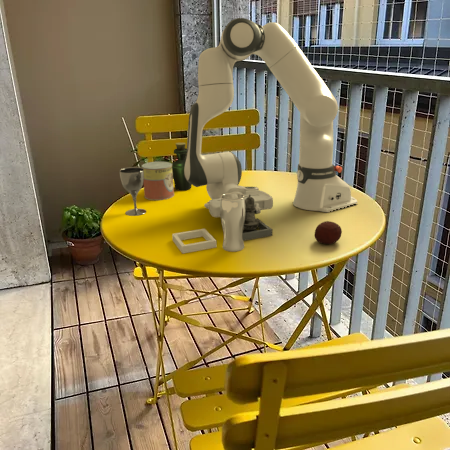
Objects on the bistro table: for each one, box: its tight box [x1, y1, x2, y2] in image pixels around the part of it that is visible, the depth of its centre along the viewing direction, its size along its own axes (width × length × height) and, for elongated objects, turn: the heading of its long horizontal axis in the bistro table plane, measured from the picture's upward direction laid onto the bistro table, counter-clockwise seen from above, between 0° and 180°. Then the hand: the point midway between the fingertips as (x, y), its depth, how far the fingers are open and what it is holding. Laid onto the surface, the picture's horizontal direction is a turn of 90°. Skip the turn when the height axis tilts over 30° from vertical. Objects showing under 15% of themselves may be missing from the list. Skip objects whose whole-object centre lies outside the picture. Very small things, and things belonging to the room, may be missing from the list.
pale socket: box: [171, 228, 218, 254], centre depth 130 cm, size 10×10×2 cm
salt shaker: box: [243, 195, 260, 233], centre depth 135 cm, size 6×6×12 cm
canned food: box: [141, 160, 175, 201], centre depth 171 cm, size 11×11×12 cm
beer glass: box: [219, 193, 246, 253], centre depth 124 cm, size 7×7×15 cm
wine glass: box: [119, 166, 147, 217], centre depth 153 cm, size 8×8×15 cm
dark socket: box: [243, 218, 273, 242], centre depth 136 cm, size 10×10×2 cm
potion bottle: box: [172, 142, 192, 192], centre depth 178 cm, size 8×8×18 cm
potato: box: [314, 220, 343, 245], centre depth 128 cm, size 7×8×6 cm
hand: (251, 212), depth 134 cm, fingers closed on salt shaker, 3 cm apart
